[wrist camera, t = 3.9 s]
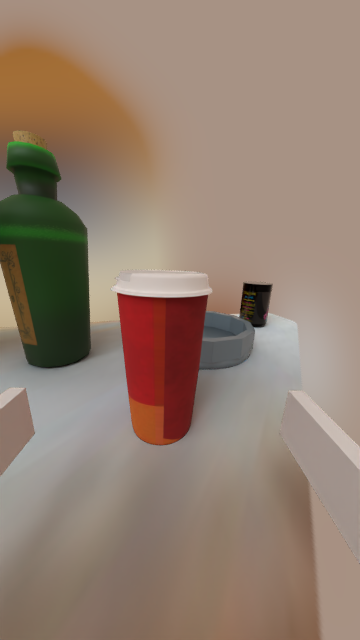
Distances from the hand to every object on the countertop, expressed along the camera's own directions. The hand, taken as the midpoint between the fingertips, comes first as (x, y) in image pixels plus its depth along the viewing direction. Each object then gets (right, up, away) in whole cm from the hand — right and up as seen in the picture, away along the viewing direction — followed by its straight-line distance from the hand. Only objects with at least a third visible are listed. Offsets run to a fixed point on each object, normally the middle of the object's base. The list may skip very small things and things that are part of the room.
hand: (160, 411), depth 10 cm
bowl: (+5, 0, +27) cm, 28 cm away
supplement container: (+20, +3, +42) cm, 46 cm away
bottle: (-18, -1, +21) cm, 28 cm away
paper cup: (-1, -5, +9) cm, 11 cm away
